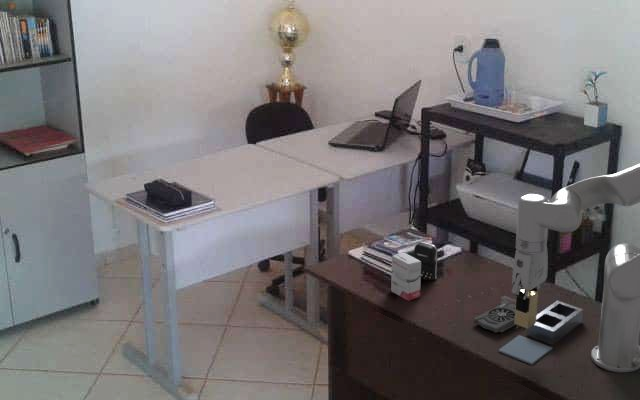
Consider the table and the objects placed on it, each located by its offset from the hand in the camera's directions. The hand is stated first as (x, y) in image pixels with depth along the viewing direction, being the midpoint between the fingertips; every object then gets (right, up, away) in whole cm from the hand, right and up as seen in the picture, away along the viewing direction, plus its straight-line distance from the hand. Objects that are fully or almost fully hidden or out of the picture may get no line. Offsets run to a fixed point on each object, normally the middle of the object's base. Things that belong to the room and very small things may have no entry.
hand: (526, 307), depth 223 cm
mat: (+1, -12, +5) cm, 13 cm away
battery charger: (-21, +3, +46) cm, 51 cm away
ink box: (-27, -1, +37) cm, 46 cm away
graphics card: (-2, -7, +20) cm, 22 cm away
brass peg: (0, -4, +2) cm, 5 cm away
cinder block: (+11, -8, +15) cm, 20 cm away
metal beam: (-9, -1, +34) cm, 36 cm away
